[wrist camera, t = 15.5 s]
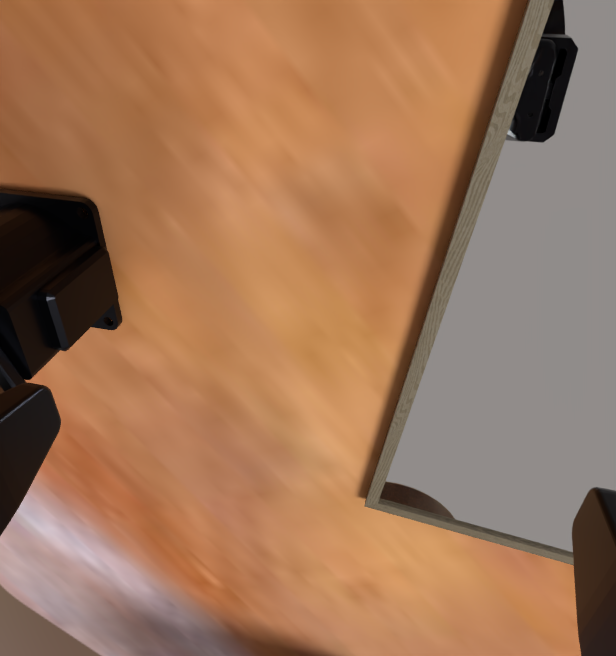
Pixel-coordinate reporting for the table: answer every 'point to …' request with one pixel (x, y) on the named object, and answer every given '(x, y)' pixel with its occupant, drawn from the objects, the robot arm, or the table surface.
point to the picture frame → (522, 308)
